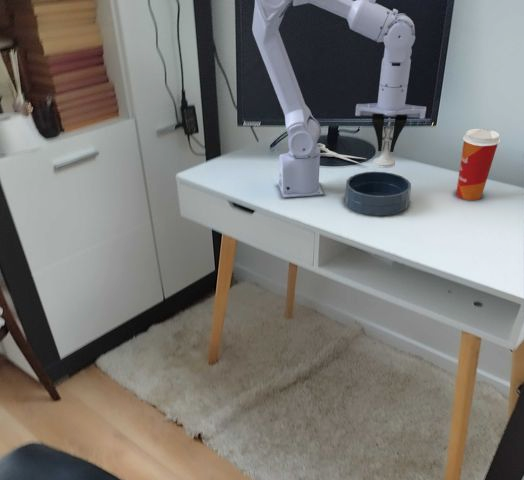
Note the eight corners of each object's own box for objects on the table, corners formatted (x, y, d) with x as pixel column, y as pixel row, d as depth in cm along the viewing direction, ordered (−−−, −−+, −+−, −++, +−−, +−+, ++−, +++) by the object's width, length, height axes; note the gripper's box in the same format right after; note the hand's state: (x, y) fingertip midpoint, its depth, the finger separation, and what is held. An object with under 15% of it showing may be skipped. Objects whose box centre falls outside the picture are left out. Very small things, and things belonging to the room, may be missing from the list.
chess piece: (394, 160, 125) (400, 114, 119) (396, 168, 121) (402, 121, 115) (372, 159, 125) (377, 114, 119) (373, 167, 122) (378, 121, 115)
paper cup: (456, 186, 131) (468, 125, 122) (489, 192, 127) (504, 130, 119) (447, 198, 125) (459, 136, 116) (481, 205, 122) (497, 141, 113)
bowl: (353, 218, 118) (355, 199, 116) (338, 192, 129) (339, 173, 127) (417, 213, 120) (420, 194, 117) (396, 188, 131) (399, 169, 128)
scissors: (312, 141, 155) (376, 154, 145) (312, 144, 155) (376, 157, 146) (291, 153, 148) (357, 167, 139) (291, 155, 149) (357, 170, 139)
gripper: (356, 87, 111) (351, 154, 120) (429, 90, 108) (418, 158, 117) (359, 79, 116) (354, 143, 125) (429, 81, 114) (419, 147, 122)
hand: (385, 150), depth 121 cm, fingers closed on chess piece
